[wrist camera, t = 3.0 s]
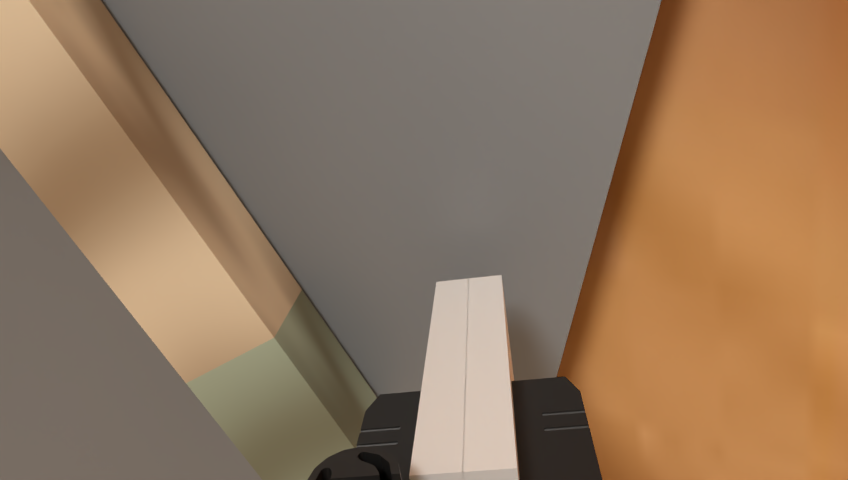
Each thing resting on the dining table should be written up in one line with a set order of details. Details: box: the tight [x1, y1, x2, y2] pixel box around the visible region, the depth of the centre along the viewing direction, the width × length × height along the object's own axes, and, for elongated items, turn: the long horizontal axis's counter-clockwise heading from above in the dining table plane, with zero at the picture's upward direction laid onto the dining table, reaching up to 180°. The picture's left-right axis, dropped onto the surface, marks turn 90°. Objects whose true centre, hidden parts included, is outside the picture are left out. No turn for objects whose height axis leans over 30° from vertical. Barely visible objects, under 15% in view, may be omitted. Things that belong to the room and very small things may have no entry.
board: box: [0, 0, 661, 480], centre depth 18 cm, size 22×22×1 cm
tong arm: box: [0, 0, 377, 480], centre depth 15 cm, size 15×2×2 cm, turn 30°
